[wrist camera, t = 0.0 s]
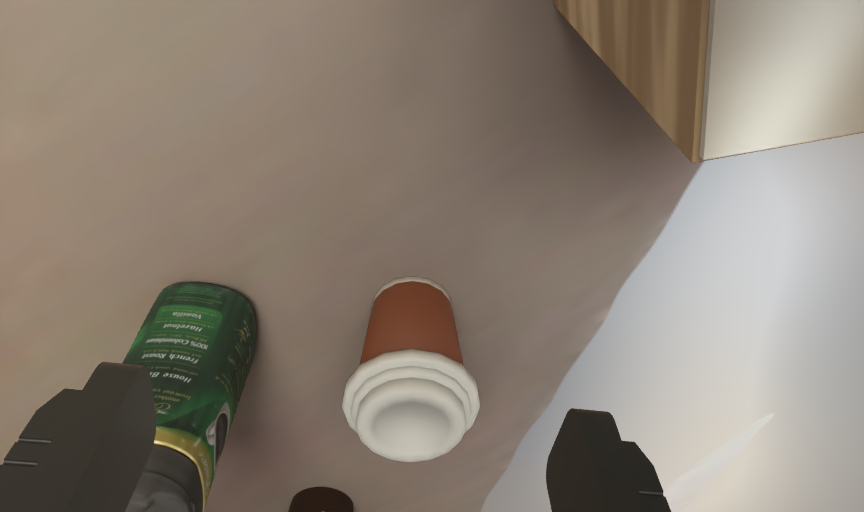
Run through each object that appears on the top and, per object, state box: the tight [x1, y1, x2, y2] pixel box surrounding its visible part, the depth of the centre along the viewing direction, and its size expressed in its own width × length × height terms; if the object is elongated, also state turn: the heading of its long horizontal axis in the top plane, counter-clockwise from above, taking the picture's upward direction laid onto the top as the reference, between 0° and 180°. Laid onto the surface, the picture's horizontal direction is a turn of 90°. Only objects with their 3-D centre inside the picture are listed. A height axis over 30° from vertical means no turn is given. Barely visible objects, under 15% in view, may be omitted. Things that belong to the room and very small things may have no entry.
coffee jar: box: [122, 282, 256, 512], centre depth 41 cm, size 10×8×19 cm
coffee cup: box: [342, 276, 480, 462], centre depth 43 cm, size 9×9×12 cm
